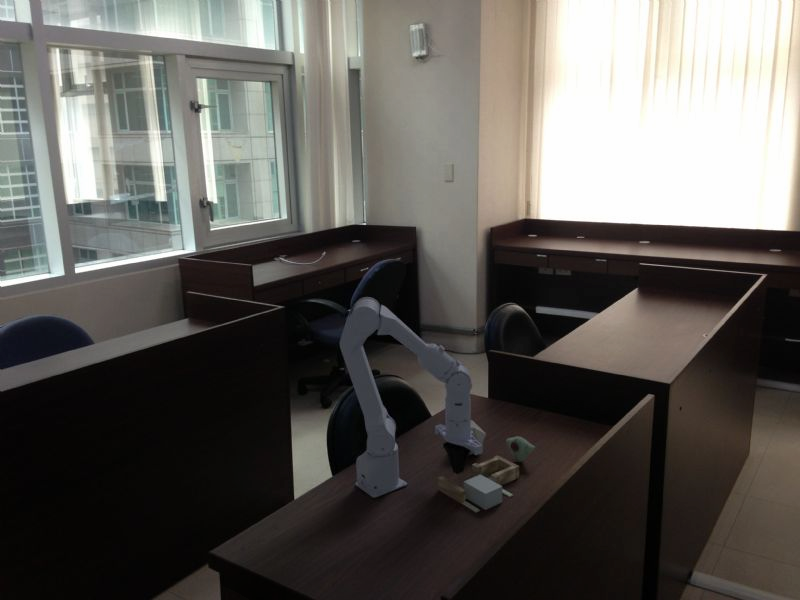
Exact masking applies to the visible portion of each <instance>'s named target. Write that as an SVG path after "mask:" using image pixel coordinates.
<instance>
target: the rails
mask: <svg viewBox="0 0 800 600" xmlns="http://www.w3.org/2000/svg"><path fill="white" fill-rule="evenodd" d="M502 495H505V496H507V497H508V498H511V497H513V496H514V494H513V493H511V492H509V491H507V490H505V489H504V488H502ZM461 505H463V506H465V507H467V508H468V509H469V510H471V511H472V512H474V513H478V512H480V511H481V510H480V509H479V508H478V507H476V506H474V505H472V503H470V502H468V501H467V500H466V501H465V502H463V503H462V504H461Z"/></svg>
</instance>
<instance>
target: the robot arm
mask: <svg viewBox="0 0 800 600" xmlns="http://www.w3.org/2000/svg"><path fill="white" fill-rule="evenodd" d="M347 315H348V316H347V317H346V321H345V324H344V327H343V330H342V334H341V336H340V340H339V348H340V351H341V355H342V357H343V360H344V363H345V365H346V368H347V372H348V374H349V377H350V381H351V383H352V385H353V388H354V391H355V394H356V397H357V400H358V402H359V406H360V408H361V412H362V415H363V418H364V424H365V425H364V426H365V430H366V431H365V432H366V433H367V439H366V449H365V451H364V452H363V453H362V454H361V455H359V456H357V458H356V463H355V467H356V468H355V469H356V482H355V486H356V487H358V488H359V489H360V490H362V491H363V492H365V493H366V494H367V495H369V496H370V497H371V498H373V499H376V498H378V497H380V496H382V495H386V494H388V493H390V492H393V491H396V490H398V489H401V488H404V487H406V486H407V485H408V483H407V482H406V481H405V480H403V479H401V478H400V467H399V466H400V465H399V446H398V444H397V443H396V430H397V425H396V422H395V420H394V418H392V417H391V416H390V415H389V412H388V410H387V408H386V407H385V405H384V404H383V401H382V399H381V395H380V393H379V390H378V386H377V384H376V381H375V378H374V375H373V372H372V368H371V366H370V362H369V361H368V357H367V353H366V352H365V348H364V344H365V342H366V340H367V338H368V337H370V336H371V335H372V334H374V332H375V331H377V332H376V335H377V336H388V335H389V336H390V337H393V338H394V339H395V340H397V342H399V343H401V344H402V345H403V346H405V348H407V349H409V351H411V352H413V353H414V354H415V355H416V356H417V364H418V365H420V366H421V367H422V368H423V369H424V370H426V371H427V372H428V373H429V374H431V375H432V377H434V378H436V380H437V381H439V382H442V383H444V386H445V391H446V396H445V399H444V400H445V401H444V402H445V404H444V405H445V411H444V413H445V425H444V424H441V423H440V424H437V425H435V426H434V434H436V435H437V436H439V435H440V436H441V437H442V438H443V439H444V440H445V441H446V442H444V443H442V446H443V447H442V448H443V449H444V450H445V452H446V453H447V456H448V458H449V463H450V465H451V469H452V472H453V473H454V474H456V475H459V474H461V473H464V470H465V466H466V463H467V460H468V457H469V456H470V455H469V454H470V452H471V451H473V454H472V455H475V456H478V455H481V454H483V451H484V448H483V447H484V445H483V444H480V443H479V442H478V441H477V440H476V439H475V438H474V437H473V436H472V435H473V431H471V420H472V419H471V418H472V416H471V412H472V411H471V410H472V409H471V406H472V405H471V401H472V400H471V396H470V395H471V391H472V389H473V383H472V378H471V374H470V371H469V369H468V368H467V366H466V365H465V363H462V362H460V361H459V360H458V359H454V358H453V357H452V356H451V355H449V354H448V353H447V352H445V350H446V349H445V347H444V346H443V345H441V344H439V346H438V345H437V344H436V343H427V342H425V341H424V340H423V339H422V338H420V336H418V335H417V334H416V333H415V332H413V330H412V329H411V328H410V327H409V326H407V325H406V324H405V323H404V322H403V321H402V320H401V319H400V318H398V316H397V315H395V313H394V312H392V311H391V310H390V309H389V308H388V307H387V306H385V305H383V304H380V303H379V301H378V300H377V299H375V298H374V297H369V296H365V297H361V298H359V299H358V300H357V301H356V302H355V303H354V304H353V306H352V308H351V309H350V310H349V312H348V314H347Z"/></svg>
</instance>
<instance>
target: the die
mask: <svg viewBox="0 0 800 600" xmlns="http://www.w3.org/2000/svg"><path fill="white" fill-rule="evenodd" d="M471 431H473V435H472V436H473V437H474V438H475V439H476V440H477V441H478V442H479V443H480V444H482V445H483V443H484V440H485V438H486V436H487V432H485V431H484V430H483V429H482V428H481V427H480V426H478V424H476V422H475V421H474V420H473V419H471ZM471 455H474V454H473V451H471V452H470V454H469V455H468V456H471Z"/></svg>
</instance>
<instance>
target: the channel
mask: <svg viewBox="0 0 800 600" xmlns="http://www.w3.org/2000/svg"><path fill="white" fill-rule="evenodd" d="M478 475H482V476H484V477H486V478H488V479H490V480H491V481H493V482H495V483H497V484H499V485H501V486H504V485H506V484H509V483H511V482H513V481H514V480H515V481H516V480H517V479H519V478H520V465H518V464H516V463H514V462H512V461H510V460H508V459H506V458H504V457H502V456H500V455H497V454H496V455H495V456H493V458H490V459H489V460H486V461H483V462H481V463H477V462H475V463H473V464H471V476H472V478H473V477H475V476H478ZM437 480H438V483H437V485H438V491H440V492H441V493H443V494H445V495H446V496H448V497H449V498H451V499H453V500H454V501H455V502H457V503H459V504H460V505H463V504H462V503H463V502H465V501H466V502H467V500H466V499H467V498H466V490H465V489H464V487H461V486H459V485H458V484H457V483H455V482H453V481H451V480H450V479H447V478H446V477H444V476H440V477H438V479H437Z"/></svg>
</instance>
